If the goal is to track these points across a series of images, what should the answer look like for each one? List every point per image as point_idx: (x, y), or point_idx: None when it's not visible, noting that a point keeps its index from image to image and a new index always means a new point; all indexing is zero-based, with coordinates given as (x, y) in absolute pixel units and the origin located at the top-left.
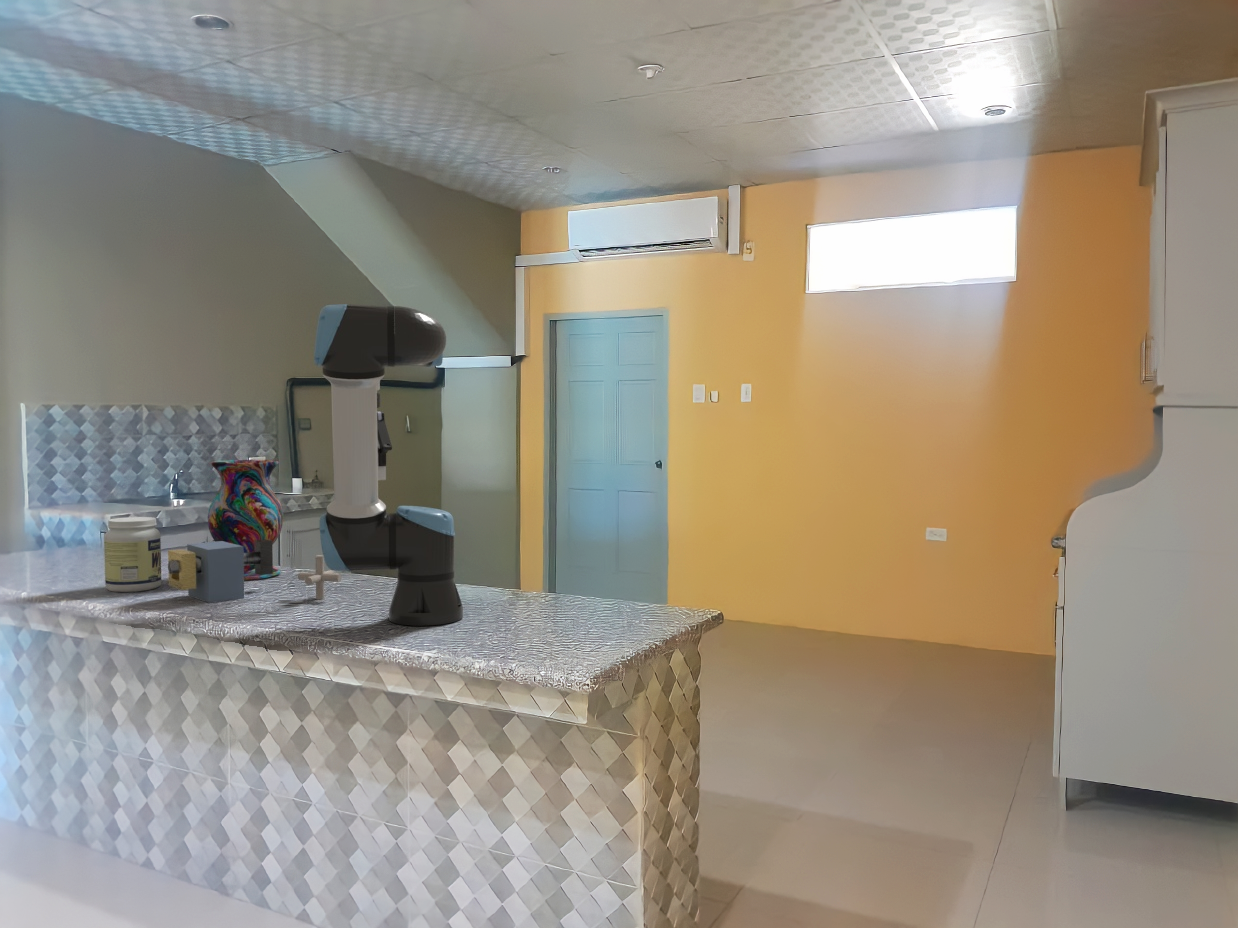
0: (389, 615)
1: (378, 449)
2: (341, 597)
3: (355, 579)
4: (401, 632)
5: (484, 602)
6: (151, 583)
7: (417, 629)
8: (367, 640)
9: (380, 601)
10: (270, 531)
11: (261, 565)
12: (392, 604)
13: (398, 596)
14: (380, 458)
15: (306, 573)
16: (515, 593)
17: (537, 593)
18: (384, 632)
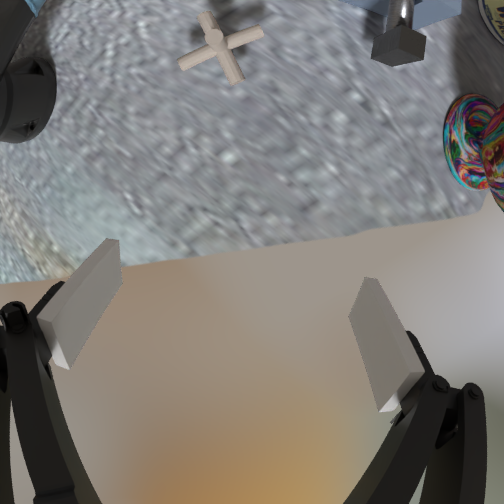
0: (38, 58)
1: (4, 325)
2: (206, 83)
3: (322, 206)
4: None
5: (44, 203)
6: (482, 9)
7: None
8: None
9: (131, 107)
10: (490, 156)
11: (380, 36)
12: (25, 59)
13: (10, 63)
14: (39, 305)
15: (243, 31)
16: (65, 263)
17: (54, 276)
18: None
